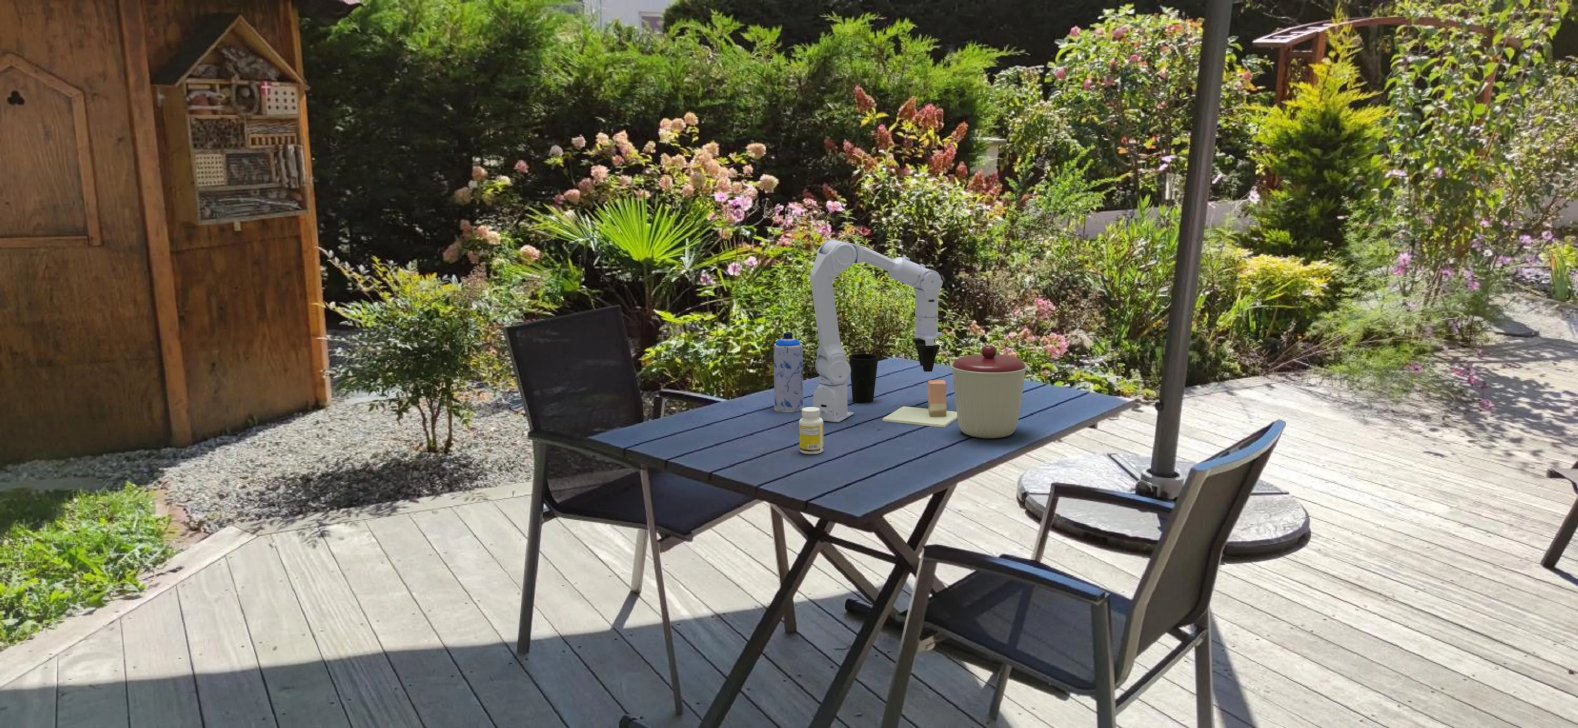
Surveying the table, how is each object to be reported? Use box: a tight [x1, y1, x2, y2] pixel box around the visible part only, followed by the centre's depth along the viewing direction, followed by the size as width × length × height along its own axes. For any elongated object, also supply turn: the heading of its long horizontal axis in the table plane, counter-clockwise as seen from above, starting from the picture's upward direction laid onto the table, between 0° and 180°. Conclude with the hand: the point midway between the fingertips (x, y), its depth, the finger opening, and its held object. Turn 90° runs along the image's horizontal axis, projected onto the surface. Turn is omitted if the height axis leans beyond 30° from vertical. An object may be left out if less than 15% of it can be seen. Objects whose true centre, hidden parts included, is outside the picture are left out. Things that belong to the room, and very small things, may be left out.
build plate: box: [882, 405, 958, 428], centre depth 283 cm, size 14×16×1 cm
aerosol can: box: [773, 331, 805, 413], centre depth 292 cm, size 8×8×20 cm
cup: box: [848, 352, 879, 404], centre depth 300 cm, size 8×8×12 cm
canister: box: [949, 344, 1029, 439], centre depth 265 cm, size 18×18×21 cm
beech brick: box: [927, 400, 948, 417], centre depth 283 cm, size 4×4×3 cm
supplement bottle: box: [798, 406, 825, 455], centre depth 253 cm, size 5×5×10 cm
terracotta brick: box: [927, 379, 947, 404], centre depth 282 cm, size 4×4×5 cm
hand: (926, 368), depth 291 cm, fingers open, 7 cm apart
